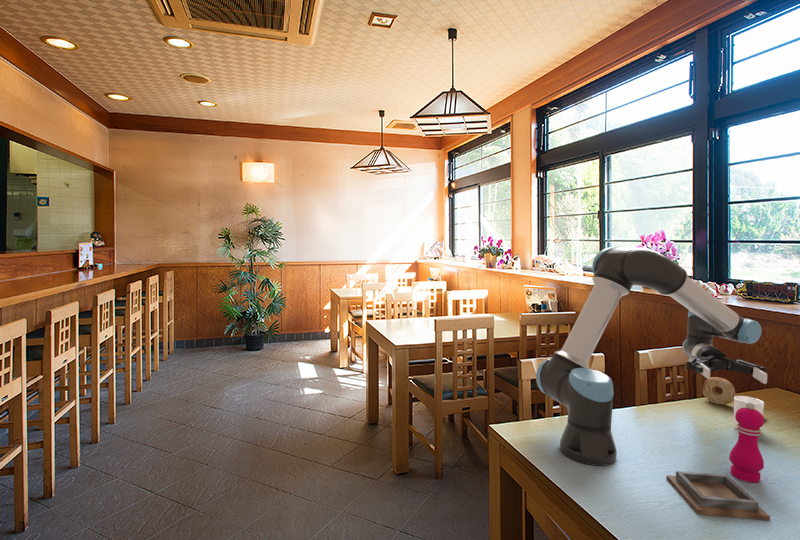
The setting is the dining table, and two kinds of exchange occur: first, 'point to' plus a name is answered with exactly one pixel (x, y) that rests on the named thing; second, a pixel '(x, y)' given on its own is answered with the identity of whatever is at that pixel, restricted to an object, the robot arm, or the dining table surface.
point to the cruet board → (716, 495)
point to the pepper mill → (747, 445)
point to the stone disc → (715, 397)
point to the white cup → (741, 403)
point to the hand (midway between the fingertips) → (736, 376)
